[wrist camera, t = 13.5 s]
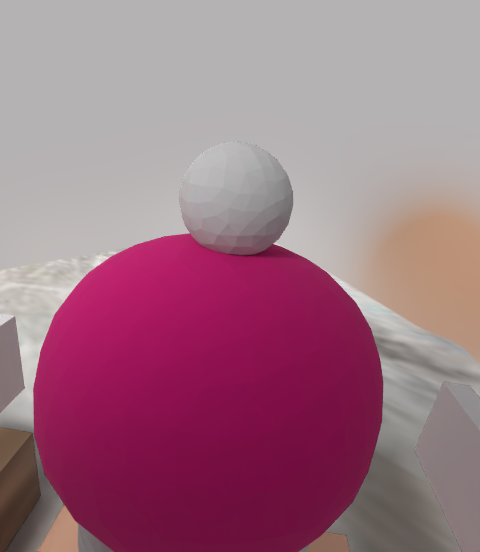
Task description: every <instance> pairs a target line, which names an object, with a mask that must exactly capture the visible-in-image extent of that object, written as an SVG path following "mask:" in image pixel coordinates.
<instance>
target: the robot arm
mask: <svg viewBox="0 0 480 552" xmlns="http://www.w3.org/2000/svg"><path fill="white" fill-rule="evenodd" d="M24 388H25V387H24V379H23V372H22V365H21V357H20V350H19V342H18V335H17V327H16V320H15V316H12V315H5V314H0V412H1V411H2V410H3V409H4V408H5V407H6V406H7V405H8V404H9V403H10V402H11V401H12V400H13V399H14V398H15V397H16V396H17V395H18V394H19V393H20V392H21V391H22V390H23V389H24ZM415 453H416V455H417V457H418V459H419V461H420V463H421V465H422V467H423V470H424V472H425V474H426V476H427V478H428V480H429V482H430V485H431V487H432V489H433V491H434V493H435V495H436V497H437V499H438V502H439V504H440V506H441V508H442V510H443V512H444V514H445V516H446V519H447V521H448V523H449V525H450V527H451V529H452V531H453V533H454V536H455V538H456V540H457V542H458V544H459V546H460V548H461V551H462V552H480V397H479V396H478V395H477V394H476V393H475V391H474V390H473V389H472V388H471V386H469V385H462V384H456V383H449V382H443V384H442V387H441V389H440V391H439V394H438V396H437V398H436V401H435V403H434V405H433V408H432V410H431V412H430V415H429V417H428V419H427V422H426V424H425V426H424V429H423V431H422V433H421V436H420V438H419V440H418V443H417V445H416V447H415Z"/></svg>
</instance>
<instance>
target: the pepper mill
mask: <svg viewBox="0 0 480 552" xmlns="http://www.w3.org/2000/svg"><path fill="white" fill-rule="evenodd" d="M179 197H180V198H179V200H180V201H179V202H180V208H181V213H182V217H183V220H184V223H185V226H186V227H187V229H188V231H189V232H190V234H181V235H172V236H164V237H161V238H158V239H154V240H151V241H147V242H144V243H140V244H137V245H134V246H132V247H130V248H128V249H126V250H124V251H122V252H120V253H118V254H115V255H113V256H111V257H110V258H109V259H107V260H106V261H104V262H103V263H102V264H100V265H99V266H97V267H96V268H95V269H93V270H92V271H90V272H89V273H88V274H87V275H86V276H85V277H84V278H83V279H82V280H81V281H80V283H79V284H78V285H77V286H76V287H75V289H74V290H73V291H72V292H71V294H70V295H69V296H68V298H67V299H66V300H65V302H64V303H63V304H62V306H61V307H60V308H59V310H58V311H57V312H56V314H55V315H54V318H53V320H52V323H51V325H50V328H49V330H48V333H47V335H46V338H45V341H44V343H43V346H42V348H41V352H40V357H39V362H38V367H37V373H36V378H35V383H34V388H33V394H34V435H35V439H36V442H37V446H38V450H39V454H40V458H41V462H42V465H43V469H44V473H45V475H46V477H47V478H48V480H49V481H50V483H51V485H52V486H53V488H54V489H55V491H56V492H57V494H58V495H59V497H60V499H61V500H62V502H63V503H64V505H65V506H66V508H67V509H68V511H69V513H70V514H71V516H72V517H73V519H74V520H75V521H76V522H77V523H78V549H79V552H306V551H307V549H308V546H309V544H310V543H312V542H313V541H315V540H316V539H317V538H319V537H320V536H322V534H323V533H324V532H325V531H326V530H327V529H328V528H329V527H330V526H331V525H332V524H333V523H334V522H335V520H336V519H337V518H338V517H339V516H340V515H341V514H342V513H343V512H344V511H345V510H346V509H347V508H348V507H349V505H350V504H351V503H352V502H353V501H354V499H355V497H356V495H357V493H358V491H359V489H360V487H361V485H362V483H363V481H364V479H365V477H366V475H367V473H368V470H369V467H370V463H371V460H372V457H373V453H374V450H375V446H376V443H377V439H378V435H379V431H380V427H381V423H382V404H383V377H382V370H381V363H380V358H379V354H378V350H377V347H376V344H375V341H374V337H373V334H372V331H371V328H370V326H369V324H368V323H367V321H366V319H365V317H364V316H363V314H362V312H361V311H360V309H359V307H358V305H357V304H356V302H355V301H354V300H353V299H352V298H351V297H350V296H349V295H348V294H347V293H346V292H345V291H344V290H343V288H342V287H341V286H340V285H339V284H338V283H337V282H336V281H335V280H334V279H333V278H332V277H331V276H330V275H329V274H328V273H327V272H326V271H324V270H323V269H321V268H320V267H318V266H317V265H315V264H314V263H312V262H311V261H309V260H308V259H306V258H304V257H302V256H300V255H298V254H295V253H293V252H291V251H289V250H287V249H285V248H283V247H281V246H277V245H274V244H273V243H275V242H276V241H277V240H278V239H279V238H280V236H281V235H282V233H283V231H284V230H285V228H286V227H287V225H288V223H289V219H290V215H291V211H292V207H293V191H292V187H291V184H290V181H289V178H288V175H287V173H286V172H285V170H284V169H283V167H282V166H281V165H280V163H279V162H278V160H277V159H276V158H275V157H273V156H272V155H271V154H270V153H269V152H267V151H266V150H264V149H262V148H260V147H259V146H257V145H253V144H248V143H243V142H226V143H222V144H219V145H216V146H213V147H211V148H209V149H208V150H207V151H205V152H204V153H202V154H201V155H200V156H198V157H197V159H196V160H195V161H194V162H193V164H191V166H190V167H189V169H188V170H187V172H186V174H185V176H184V178H183V181H182V184H181V188H180V196H179Z"/></svg>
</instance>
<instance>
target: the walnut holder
mask: <svg viewBox="0 0 480 552" xmlns="http://www.w3.org/2000/svg"><path fill="white" fill-rule="evenodd" d="M40 496H41V495H40V487H39V479H38V472H37V464H36V457H35V449H34V442H33V434H32V433H31V432H25V431H19V430H13V429H7V428H0V552H5V550H6V549H7V547H8V546H9V544H10V543H11V541H12V539H13V538H14V536H15V535H16V533H17V532H18V530H19V529H20V527H21V525H22V524H23V522H24V521H25V519H26V518H27V516H28V515H29V513H30V512H31V510H32V508H33V507H34V505H35V504H36V502H37V501H38V499H39V498H40Z"/></svg>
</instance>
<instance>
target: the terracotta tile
mask: <svg viewBox="0 0 480 552" xmlns="http://www.w3.org/2000/svg"><path fill="white" fill-rule="evenodd" d="M38 552H79V549H78V523H77V522H76V521H75V520H74V519H73V517H72V516H71V514H70V513H69V511H68V509H67V508H66V506H65V505H64V506H63V507H62V509H61V511H60V513H59V514H58V516H57V518H56V520H55V522H54V523H53V525H52V527H51V529H50V530H49V532H48V534H47V536H46V537H45V539H44V541H43V543H42V545H41V546H40V548H39V550H38ZM306 552H350V551H349V546H348V541H347V535H341V534H335V533H329V532H324V533H323V534H322V536H320V537H319V538H317V539H316V540H315V541H313V542H312V543H310V544H309V546H308V549H307V551H306Z"/></svg>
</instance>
